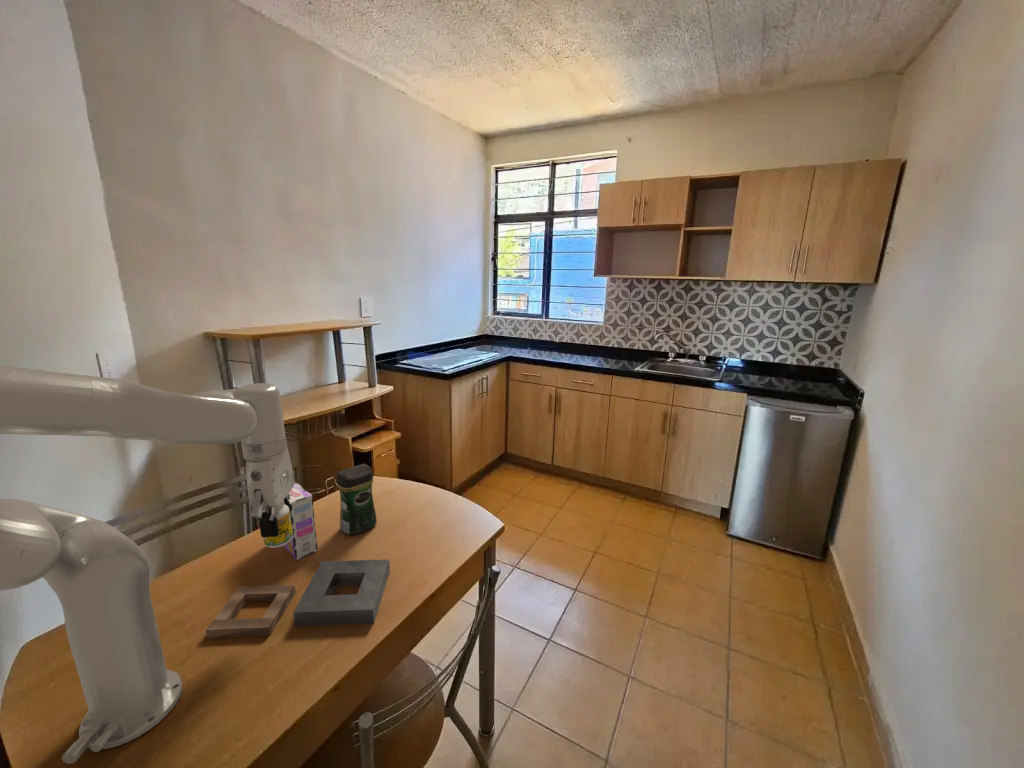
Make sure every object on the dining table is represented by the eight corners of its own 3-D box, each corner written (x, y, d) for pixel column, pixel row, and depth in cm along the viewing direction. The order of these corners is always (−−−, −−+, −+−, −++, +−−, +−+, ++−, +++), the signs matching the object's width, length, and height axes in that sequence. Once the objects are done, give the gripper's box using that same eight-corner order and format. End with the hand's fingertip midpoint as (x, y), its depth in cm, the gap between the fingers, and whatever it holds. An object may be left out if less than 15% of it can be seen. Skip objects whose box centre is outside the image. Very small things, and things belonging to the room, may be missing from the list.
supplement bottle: (291, 530, 91) (285, 490, 88) (295, 543, 86) (289, 502, 84) (263, 538, 88) (256, 498, 85) (265, 552, 83) (258, 510, 81)
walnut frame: (270, 635, 83) (268, 627, 83) (207, 638, 82) (205, 629, 82) (295, 592, 95) (294, 584, 95) (240, 594, 94) (239, 586, 94)
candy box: (319, 551, 109) (313, 495, 106) (295, 561, 105) (288, 503, 101) (298, 530, 119) (292, 477, 115) (276, 538, 114) (269, 484, 110)
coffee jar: (367, 515, 127) (363, 458, 122) (380, 525, 122) (377, 467, 117) (336, 528, 120) (330, 468, 115) (349, 539, 115) (344, 478, 110)
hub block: (374, 623, 87) (373, 609, 86) (295, 626, 86) (293, 612, 85) (389, 571, 102) (389, 559, 102) (323, 573, 101) (321, 561, 100)
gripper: (264, 465, 74) (278, 552, 78) (301, 429, 90) (310, 504, 95) (219, 466, 73) (236, 555, 78) (264, 430, 89) (276, 505, 94)
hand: (277, 526), depth 86 cm, fingers closed on supplement bottle, 5 cm apart
